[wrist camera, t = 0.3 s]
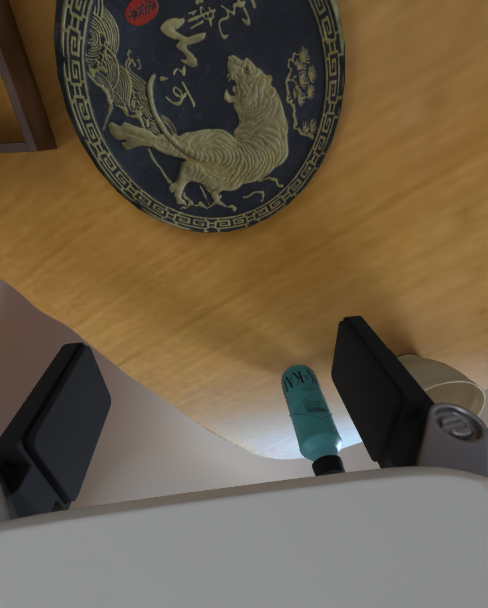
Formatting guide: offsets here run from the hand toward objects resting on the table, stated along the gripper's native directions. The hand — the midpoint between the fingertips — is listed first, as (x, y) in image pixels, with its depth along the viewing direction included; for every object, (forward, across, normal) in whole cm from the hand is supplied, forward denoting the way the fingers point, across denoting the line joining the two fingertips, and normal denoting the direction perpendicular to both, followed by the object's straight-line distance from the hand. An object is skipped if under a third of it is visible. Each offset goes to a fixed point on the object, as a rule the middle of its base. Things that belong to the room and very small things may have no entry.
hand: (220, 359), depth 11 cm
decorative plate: (+31, -1, -11) cm, 33 cm away
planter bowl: (+31, -34, +35) cm, 58 cm away
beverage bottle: (+31, -12, +32) cm, 47 cm away
